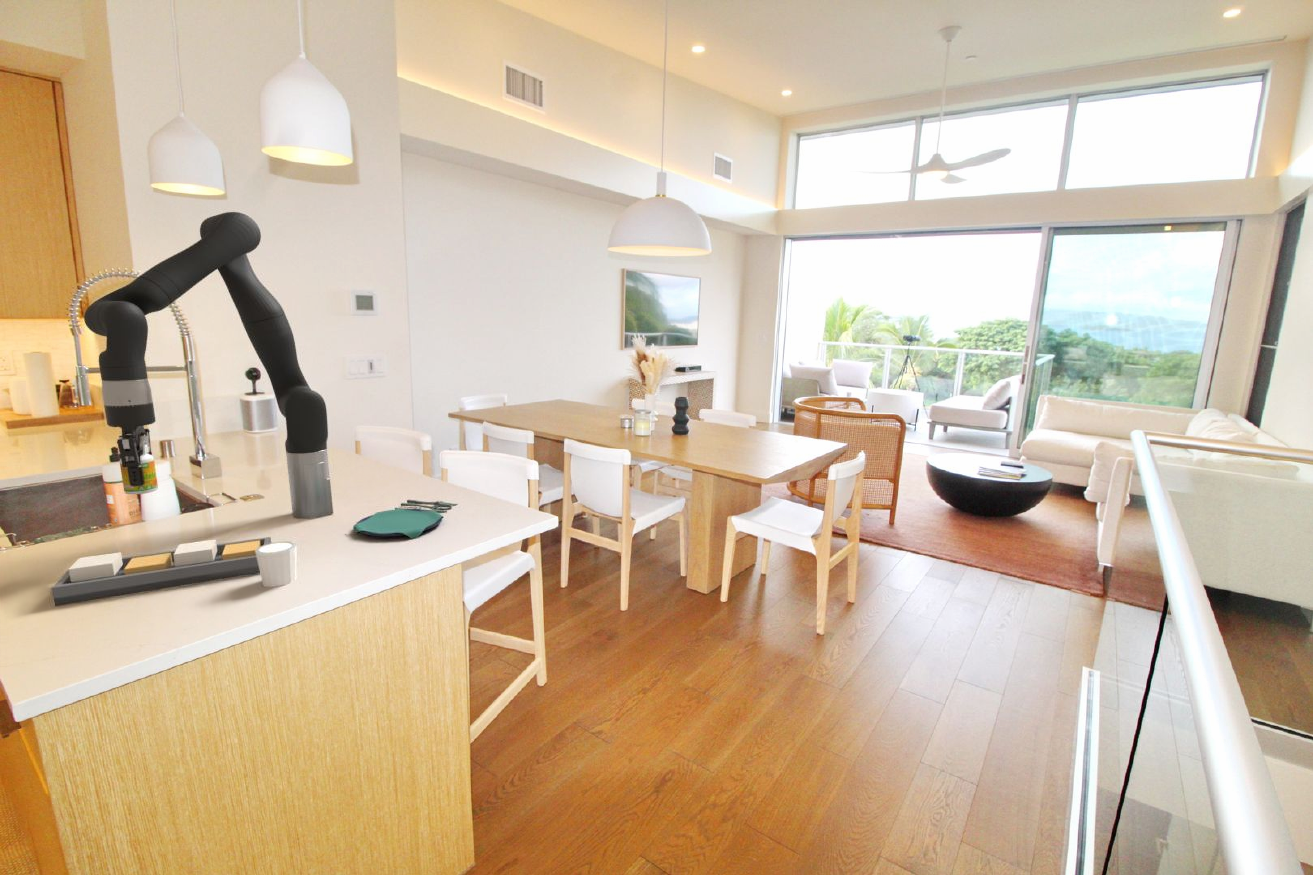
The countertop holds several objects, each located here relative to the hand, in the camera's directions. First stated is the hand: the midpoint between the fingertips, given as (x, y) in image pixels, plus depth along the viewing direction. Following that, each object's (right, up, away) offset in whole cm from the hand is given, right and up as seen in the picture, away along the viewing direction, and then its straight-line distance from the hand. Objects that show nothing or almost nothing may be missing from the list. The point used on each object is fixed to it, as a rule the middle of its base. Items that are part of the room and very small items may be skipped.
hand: (141, 481), depth 124 cm
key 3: (+9, -17, -8) cm, 21 cm away
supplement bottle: (0, -2, 0) cm, 2 cm away
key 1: (+22, -16, -1) cm, 27 cm away
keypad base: (+12, -18, -6) cm, 23 cm away
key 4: (+2, -16, -12) cm, 20 cm away
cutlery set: (+44, -13, +29) cm, 54 cm away
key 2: (+15, -15, -5) cm, 22 cm away
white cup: (+34, -19, -7) cm, 39 cm away
